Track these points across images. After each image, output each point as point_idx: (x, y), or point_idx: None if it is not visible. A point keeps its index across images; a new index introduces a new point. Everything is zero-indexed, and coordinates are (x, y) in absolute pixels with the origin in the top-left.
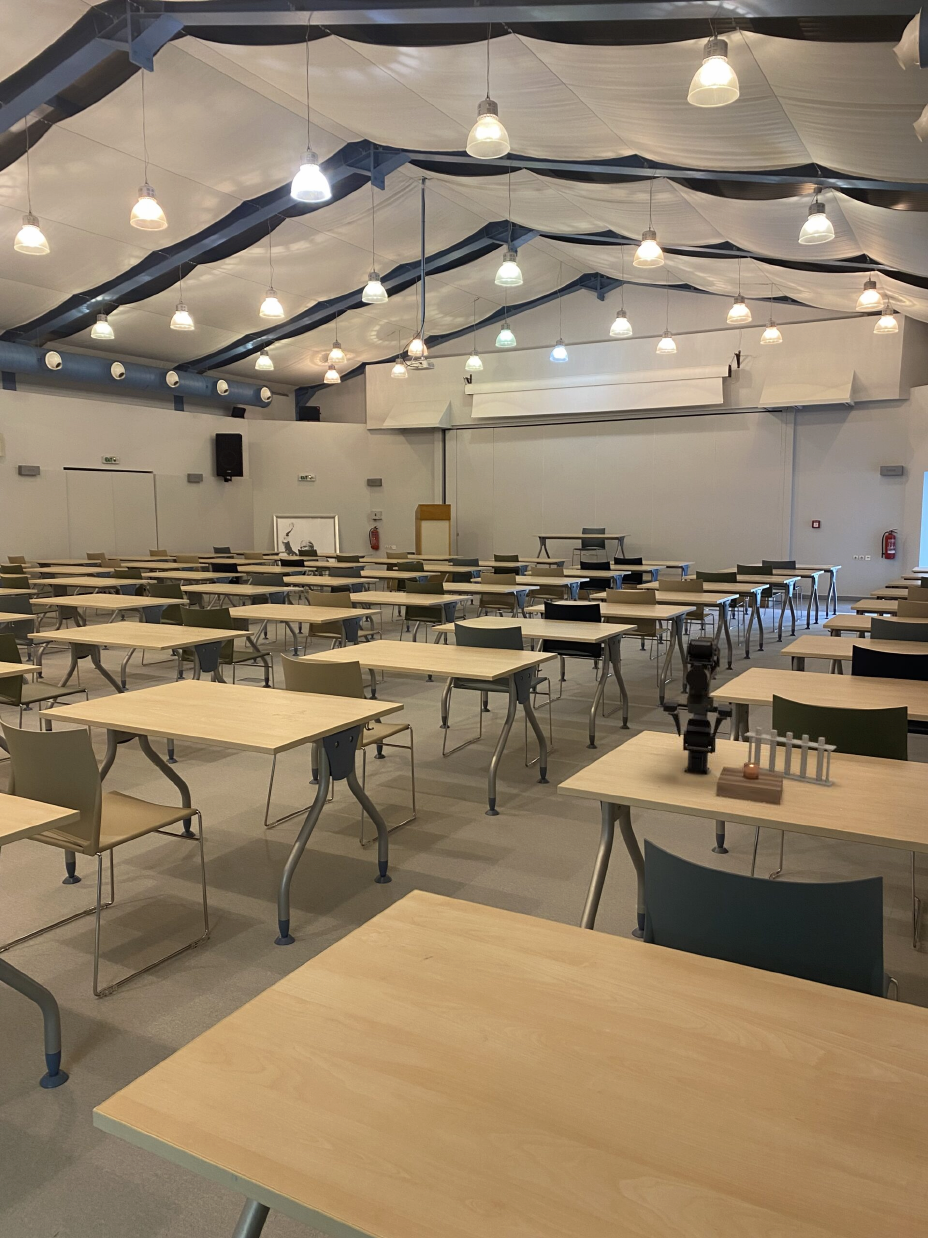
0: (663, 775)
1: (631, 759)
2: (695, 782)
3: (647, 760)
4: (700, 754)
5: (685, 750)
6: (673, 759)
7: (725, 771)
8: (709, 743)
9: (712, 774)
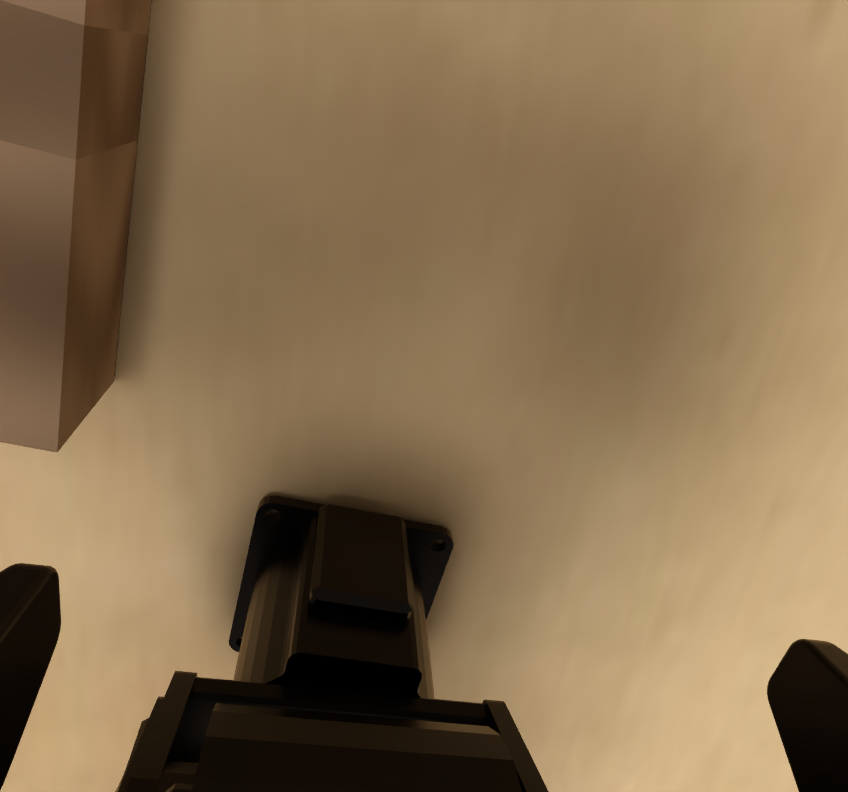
0: (659, 404)
1: None
2: (393, 247)
3: (677, 725)
4: (316, 645)
5: (478, 704)
6: None
7: (15, 231)
8: (183, 768)
9: (211, 526)
